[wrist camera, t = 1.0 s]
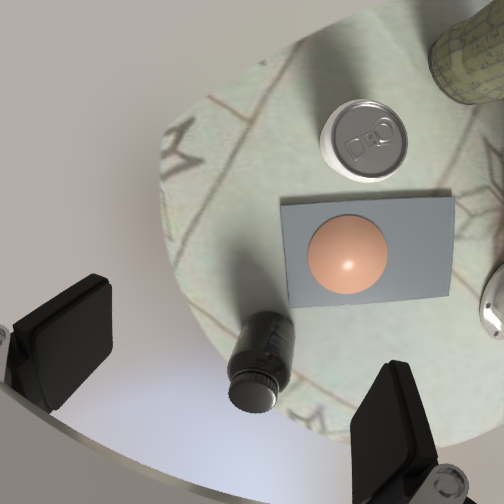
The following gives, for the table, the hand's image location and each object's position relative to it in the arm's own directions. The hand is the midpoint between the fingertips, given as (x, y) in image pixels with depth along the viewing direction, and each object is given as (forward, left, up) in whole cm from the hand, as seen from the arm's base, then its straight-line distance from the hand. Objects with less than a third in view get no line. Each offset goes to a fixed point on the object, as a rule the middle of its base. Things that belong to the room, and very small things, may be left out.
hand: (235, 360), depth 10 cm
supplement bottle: (+4, +15, -26) cm, 31 cm away
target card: (-9, +5, -26) cm, 28 cm away
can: (-7, -7, -26) cm, 28 cm away
